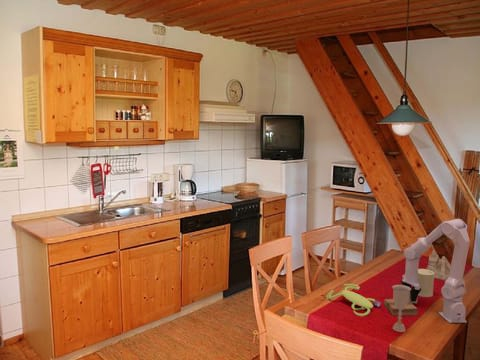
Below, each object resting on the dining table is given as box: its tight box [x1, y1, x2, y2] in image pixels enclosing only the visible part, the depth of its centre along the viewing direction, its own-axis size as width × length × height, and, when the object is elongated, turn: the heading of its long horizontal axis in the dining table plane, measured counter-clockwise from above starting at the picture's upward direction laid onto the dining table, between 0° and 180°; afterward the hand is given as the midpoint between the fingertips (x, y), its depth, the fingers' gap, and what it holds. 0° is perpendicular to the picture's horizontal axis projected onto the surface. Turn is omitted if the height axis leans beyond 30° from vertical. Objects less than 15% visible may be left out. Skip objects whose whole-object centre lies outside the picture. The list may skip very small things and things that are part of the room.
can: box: [418, 268, 435, 298], centre depth 216 cm, size 9×9×12 cm
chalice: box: [392, 284, 411, 333], centre depth 178 cm, size 7×7×18 cm
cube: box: [409, 292, 418, 304], centre depth 207 cm, size 5×5×5 cm
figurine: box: [325, 283, 382, 317], centre depth 204 cm, size 18×27×6 cm
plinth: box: [383, 298, 418, 316], centre depth 197 cm, size 11×11×3 cm
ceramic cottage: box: [425, 250, 451, 281], centre depth 244 cm, size 16×16×15 cm
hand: (409, 298), depth 207 cm, fingers open, 7 cm apart
